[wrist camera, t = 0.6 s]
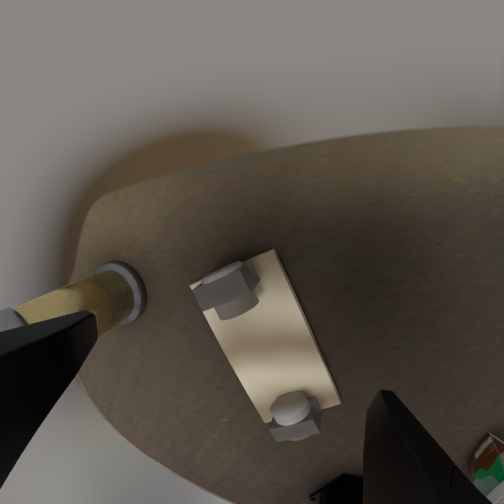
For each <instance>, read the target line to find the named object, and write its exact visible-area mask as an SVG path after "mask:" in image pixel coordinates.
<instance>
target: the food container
mask: <svg viewBox="0 0 504 504" xmlns="http://www.w3.org/2000/svg"><path fill="white" fill-rule="evenodd" d="M469 465H470V468H471V472H472V476H473V480H474V485H475V487H476V488H477V489H478V490H479V491H480V492H481V493H482V494H483V495H484V496H485V497H487V498H488V499H489V500H490V501H491V502H492V503H493V504H504V442H503V441H502V440H500V439H499V438H497V437H496V436H494V435H493V434H491V433H489V432H488V433H487V434H486V435H485V436H484V437H483V438H482V439H481V441H480V442H479V443H478V444H477V446H476V447H475V448H474V450H473V452H472V454H471V456H470V460H469Z"/></svg>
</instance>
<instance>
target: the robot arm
mask: <svg viewBox="0 0 504 504" xmlns="http://www.w3.org/2000/svg"><path fill="white" fill-rule="evenodd" d="M97 338H98V328H97V319H96V316H95V314H94V313H92V312H89V311H87V310H82V311H78V312H74V313H71V314H67V315H63V316H59V317H55V318H51V319H48V320H44V321H40V322H36V323H32V324H28V325H24V326H20V327H17V328H13V329H9V330H5V331H1V332H0V489H1V487H2V485H3V484H4V482H5V480H6V479H7V477H8V475H9V473H10V472H11V470H12V469H13V467H14V466H15V464H16V462H17V460H18V459H19V457H20V456H21V454H22V453H23V451H24V449H25V448H26V446H27V445H28V443H29V442H30V440H31V439H32V437H33V436H34V434H35V433H36V431H37V430H38V428H39V427H40V425H41V424H42V422H43V421H44V420H45V418H46V417H47V415H48V414H49V412H50V411H51V409H52V408H53V407H54V405H55V403H56V402H57V401H58V399H59V398H60V397H61V395H62V394H63V392H64V391H65V390H66V388H67V387H68V386H69V384H70V383H71V381H72V380H73V379H74V377H75V376H76V374H77V373H78V371H79V370H80V368H81V366H82V365H83V363H84V361H85V359H86V358H87V356H88V354H89V353H90V351H91V349H92V348H93V346H94V344H95V343H96V341H97ZM454 464H455V463H454V462H453V461H452V460H451V458H450V457H449V456H448V455H447V454H446V453H445V451H444V450H443V449H442V448H441V447H440V446H439V444H438V443H437V442H436V441H435V440H434V439H433V437H432V436H431V435H430V434H429V433H428V432H427V430H426V429H425V428H424V427H423V426H422V425H421V423H420V422H419V421H418V420H417V419H416V418H415V416H414V415H413V414H412V413H411V412H410V411H409V410H408V408H407V407H406V406H405V405H404V404H403V403H402V401H401V400H400V399H399V398H398V397H397V396H396V395H395V393H394V392H392V391H389V390H379V391H378V392H377V394H376V396H375V397H374V399H373V400H372V402H371V404H370V405H369V407H368V409H367V413H366V427H365V440H364V452H363V480H362V479H359V478H356V477H353V476H350V475H347V474H344V475H341V476H340V477H339V478H337V479H336V480H334V481H333V482H331V483H330V484H328V485H326V486H325V487H323V488H322V489H320V490H319V491H317V492H315V493H314V494H312V495H310V496H309V500H310V501H313V502H316V503H319V504H493V503H492V502H491V501H490V500H489V499H488V498H487V497H485V496H484V495H483V494H482V493H481V492H480V491H479V490H478V489H477V488H476V487H475V486H474V485H473V484H472V483H471V481H470V480H469V479H468V478H467V477H466V476H465V475H464V474H463V472H462V471H461V470H460V469H459V468H458V467H457V465H454Z"/></svg>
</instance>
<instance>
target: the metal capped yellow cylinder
mask: <svg viewBox="0 0 504 504" xmlns="http://www.w3.org/2000/svg"><path fill="white" fill-rule="evenodd" d="M146 301H147V295H146V289H145V286H144V283H143V281H142V279H141V277H140V276H139V274H138V273H137V272H136V271H135V270H134V269H133V268H132V267H131V266H130V265H128V264H126V263H124V262H121V261H113V262H110V263H107V264H104V265H102V266H100V267H98V268H97V269H96V271H95V272H94V274H93V275H92V276H89V277H87V278H84V279H82V280H79V281H77V282H75V283H72V284H70V285H67V286H65V287H62V288H60V289H58V290H55V291H53V292H50V293H48V294H45V295H43V296H41V297H38V298H36V299H34V300H31V301H29V302H27V303H24V304H22V305H19V306H17V307H15V308H10V307H7V308H5V309H2V310H0V332H1V331H5V330H9V329H13V328H17V327H20V326H24V325H28V324H32V323H36V322H40V321H44V320H48V319H51V318H55V317H59V316H63V315H67V314H71V313H74V312H78V311H82V310H87V311H89V312H92V313H94V314H95V316H96V319H97V328H98V337H99V336H101V335H102V334H104V333H105V332H107V331H108V330H110V329H111V328H113V327H114V326H116V325H117V324H118V325H126V324H129V323H131V322H132V321H134V320H135V319H136V318H138V317H139V316H140V315H141V314H142V313H143V311H144V310H145V307H146Z"/></svg>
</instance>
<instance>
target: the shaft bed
mask: <svg viewBox="0 0 504 504" xmlns="http://www.w3.org/2000/svg"><path fill="white" fill-rule="evenodd" d="M190 287H191V289H192V291H193V293H194V295H195V297H196V299H197V301H198V303H199V305H200V307H201V309H202V311H203V313H204V315H205V317H206V319H207V321H208V323H209V325H210V327H211V329H212V331H213V332H214V334H215V336H216V338H217V340H218V342H219V344H220V346H221V347H222V349H223V351H224V353H225V355H226V357H227V358H228V360H229V362H230V364H231V366H232V367H233V369H234V371H235V373H236V374H237V376H238V378H239V380H240V381H241V383H242V385H243V387H244V388H245V390H246V392H247V394H248V395H249V397H250V399H251V400H252V402H253V404H254V405H255V407H256V409H257V410H258V412H259V414H260V415H261V417H262V419H263V420H264V422H265V423H267V422H271V425H270V428H269V430H270V432H271V433H272V435H273V436H274V438H275V440H276V441H277V442H281V441H286V440H291V441H298V440H302V439H305V438H307V437H309V436H310V435H314V434H318V433H320V426H321V411H322V409H325V408H328V407H332V406H335V405H338V404H341V398H340V396H339V393H338V391H337V388H336V386H335V384H334V381H333V379H332V377H331V374H330V372H329V370H328V367H327V365H326V363H325V360H324V358H323V356H322V354H321V351H320V349H319V347H318V344H317V342H316V340H315V337H314V335H313V333H312V331H311V328H310V326H309V324H308V322H307V319H306V317H305V315H304V312H303V310H302V308H301V306H300V303H299V301H298V299H297V297H296V295H295V292H294V290H293V288H292V286H291V283H290V281H289V279H288V277H287V275H286V272H285V270H284V268H283V266H282V264H281V261H280V259H279V257H278V255H277V253H276V250H275V248H273V249H271V250H269V251H266V252H264V253H262V254H259V255H257V256H255V257H253V258H250V259H248V260H246V261H243V262H241V261H236V262H234V263H231V264H229V265H226V266H224V267H222V268H220V269H218V270H216V271H214V272H212V273H210V274H208V275H206V276H205V277H203V278H202V279H201V280H199V281H197V282H195V283H193V284H191V285H190Z"/></svg>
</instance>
